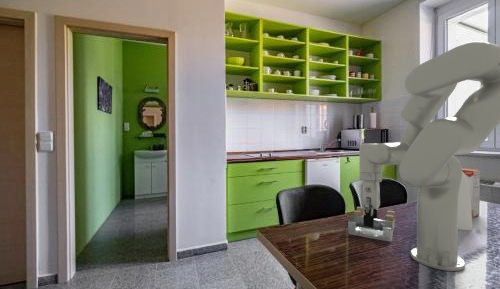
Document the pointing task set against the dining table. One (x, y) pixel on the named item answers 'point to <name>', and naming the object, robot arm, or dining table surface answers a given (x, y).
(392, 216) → the bearing cradle
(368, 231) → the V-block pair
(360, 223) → the steel axle
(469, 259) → the dining table surface
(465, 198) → the milk
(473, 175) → the cracker box
